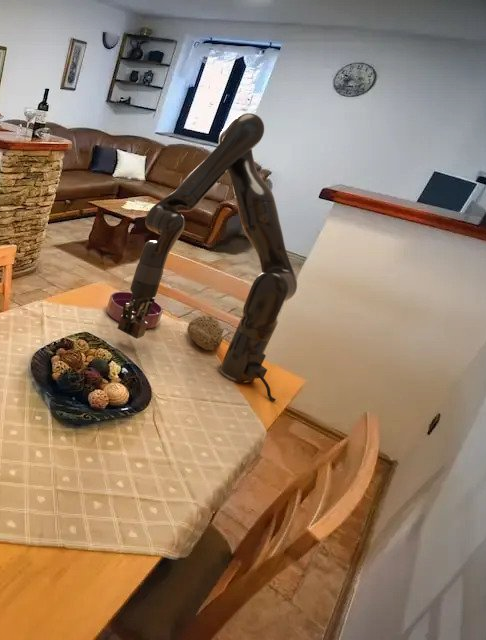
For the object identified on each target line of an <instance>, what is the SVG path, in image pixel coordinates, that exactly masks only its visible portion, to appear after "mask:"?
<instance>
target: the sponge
mask: <svg viewBox="0 0 486 640" xmlns="http://www.w3.org/2000/svg"><path fill="white" fill-rule="evenodd" d="M186 330H187V333H188V335H189V337H190V338H191V339H192V341H194V343H195V344H196V345H197V346H198V347H200V348H202V349H203V350H206V351H216V350H217V349H219V348H220V347H221V344H222V341H223V337H222V336H223V333H224V330H225V327H224V326H223V324H222V323H221V322H220V321H219V320H217V319H216V318H214V316H212V315H208V314H205V315H202V316H197V317H195V318H193V319H192V320H191V321H190V322H189V323H188V326H187V329H186Z"/></svg>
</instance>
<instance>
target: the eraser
mask: <svg viewBox="0 0 486 640" xmlns="http://www.w3.org/2000/svg"><path fill="white" fill-rule="evenodd" d="M126 316H127V315H126ZM122 317H123V315H121V318H120V322H118V324H117V325H118V326H117V330H118V331H121V332H123V333H125V332H124V331H123V330H124V326H125V323H126V321H125V320H123V319H122ZM132 317H133V315H132ZM147 324H148V322H146V321H143V320H141V319H139V318H137V317H136V319H135V321H134V324H133V327H132V330H131V333H130V334H127V333H125V334H126V335H128V336H131V337H132V338H134V339H140V338H142V337H144V336H145V333H146V330H147V328H146V327H147Z"/></svg>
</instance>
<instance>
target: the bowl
mask: <svg viewBox="0 0 486 640" xmlns="http://www.w3.org/2000/svg"><path fill="white" fill-rule="evenodd" d="M132 296H133V293H132V292H131V291H130V292H129V291H115V292H113V293H111V294H110V296H109V299H108V302H107V307H106V313H107V314H108V315H109V316H110V317H111V318H112V319H113V320H115V321H116V322H117V323H119V322H120V318H121V315H123V306H124V303H129V302H130V300H131V298H132ZM163 310H164V308H163V306H162V305H161V304H159V302H158V301H156V300H155V301H154V303H153V305H152V307H151V310H150V312H149V314H148V316H147V317H144V319H143V321H146V322H148V324H147V327H146V329H152V328H155V327H157V326H158V325H159V323H160V321H161V318H162V315H163V313H164V311H163ZM133 312H135V311H133ZM135 313H136V312H135Z"/></svg>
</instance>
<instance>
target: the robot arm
mask: <svg viewBox="0 0 486 640" xmlns="http://www.w3.org/2000/svg"><path fill="white" fill-rule="evenodd" d="M264 134H265V124H264V121H263V120H262V118H261V117H260V116H258V115H257V114H256V113H251V112H249V113H248V112H246V113H243V114H241V115H238V116H237V117H235V118H233V119H232V120H231V121H230V122H229V123H228V124H227V125H226V126H225V127H224V128H223V129H222V131H221V132H220V134H219V137H218V144H217V146H216V147H215V148H214V149H213V151H212V152H211V153H210V154H209V155H208V156H207V157H206V158H204V160H203V161H202V162H200V164H199V165H197V167H196V168H195V169H193V171H191V172H190V173H189V174H188V175H187V176H186V177H185V179H184V180H183V181H182V182H181V184H179V186H177V188H176V189H175V191H173V192H172V193H170V194H168V195H167V196H165V197H163V199H161V200H160V201H158V202H157V203H155V204H154V205H153V206H152V207H151V208H149V210H148V212H147V214H146V216H145V220H144V222H145V223H144V224H145V226H146V228H147V229H148V230H149V231H151V232H153V233H155V234H158V235H160V237H159V238H158V239H157V240H147V241H146V242H145V243H144V244H143V248H142V251H141V254H140V258H139V260H138V262H137V265H136V269H135V271H134V274H133V278H132V282H131V284H130V287H129V288H130V289H129V290H130V293H133V296H132V298H131V300H130V302H129V303H124V306H123V317H122V319H123V320H125V321H126V323H125V326H124V330H123V331H124V332H123V331H122V332H123V333H125V334H126V333H127V334H126V335H128V334H130V333H131V330H132V327H133V324H134V321H135V319H136V317H137V318H139V319H141V320H143V319H144V317H147V316H148V314H149V312H150V310H151V307H152V305H153V303H154V301H156V298H155V297H156V296H157V293H158V290H159V287H160V284H161V281H162V278H163V274H164V269H165V266H166V264H167V263H166V262H167V259H168V256H169V254H170V252H171V250H172V249H173V247H174V245H175V244H176V243H177V241H178V239H179V238H180V236H181V235H182V233H183V231H184V229H185V217H184V216H183V215H182V213H180V212H184V213H185V212H186V213H188V212H191V211H193V210H194V209H195V208H196V207H197V206H198V205H199V204H200V203H201V201H202V200H203V199H204V198H205V197H206V196H207V195H208V193H209V192H210V191H211V190H212V188H213V187H214V186H215V185H216V184H217V182H218V181H219V180H220V179H221V178H222V177H223V175H224V174H226V172H227V171H228V174H229V177H230V180H231V185H232V190H233V193H234V198H235V202H236V206H237V212H238V215H239V219H240V222H241V226H242V230H243V232H244V234H245V236H246V237H247V240H249V242H250V244H251V245H252V247H253V249H254V250H255V252H256V254H257V257H258V260H259V263H260V268H261V269H260V270H261V273H260V274H259V275H258V276H256V277H255V279H254V281H253V283H252V284H251V287H250V289H249V292H248V294H247V296H246V300H245V302H244V305H243V309H242V316H241V317H240V320H239V322H238V325H237V327H236V329H235V332H234V333H233V336H232V338H231V341H230V343H229V346H228V348H227V350H226V353H225V354H224V358H223V360H222V361H221V364H220V366H219V368H218V371H219V372H220V374H222V375H223V376H224V377H225V378H227V379H229V380H231V381H233V382H235V383H236V384H253V383H254V382H255V380H256V379H260V380H261V382H262V384H263V385H264V386H265V388H266V394H267V397H268V399H269V400H270V401H272V402H275V401H276V398H274V397H273V396H272V393H271V388H270V385H269V383H268V382H267V381H266V379H265V376H266V374H267V372H268V369H267V368H266V367H265V366H264V365H263V364H264V361H265V359H266V356H267V355H266V354H265V352H266V350H267V347H268V345H269V343H270V340H271V339H272V337H273V335H274V333H275V330H276V328H277V326H278V323H279V320H278V316H279V313H280V311H281V309H282V306H283V305H284V303H285V302H287V301H289V300H291V299H292V298H293V297H294V296H295V295H296V292H297V289H298V280H297V277H296V274H295V271H294V269H293V266H292V263H291V260H290V257H289V255H288V252H287V248H286V244H285V239H284V234H283V230H282V226H281V222H280V217H279V212H278V207H277V204H276V200H275V196H274V194H273V192H272V190H271V188H270V187H269V186H268V184H267V183H266V182H265V180H264V179H263V177H261V176H260V174H259V172H258V170H257V168H256V165H255V160H254V154H253V149H254V148H255V147H256V146H257V145H258V144H259V143H260V142H261V140H262V138H263V137H264ZM133 311H135V312H136V313H135V312H133ZM126 315H127V316H126ZM132 315H133V317H132Z"/></svg>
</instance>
